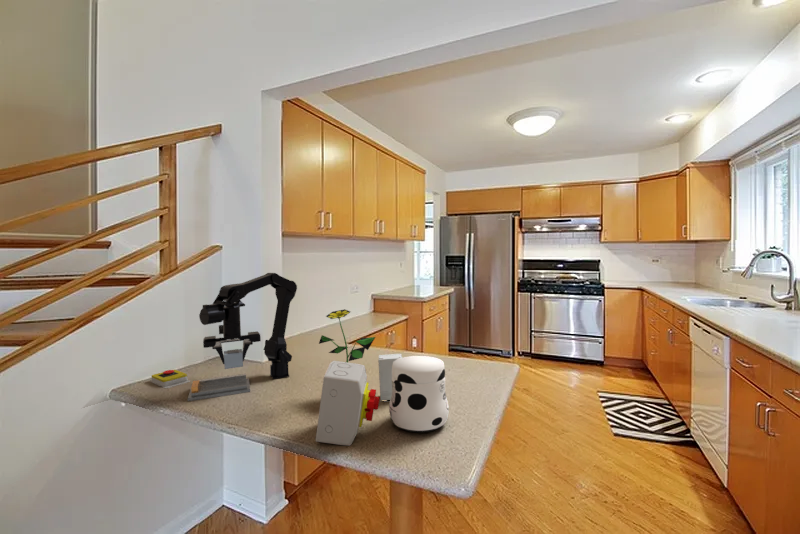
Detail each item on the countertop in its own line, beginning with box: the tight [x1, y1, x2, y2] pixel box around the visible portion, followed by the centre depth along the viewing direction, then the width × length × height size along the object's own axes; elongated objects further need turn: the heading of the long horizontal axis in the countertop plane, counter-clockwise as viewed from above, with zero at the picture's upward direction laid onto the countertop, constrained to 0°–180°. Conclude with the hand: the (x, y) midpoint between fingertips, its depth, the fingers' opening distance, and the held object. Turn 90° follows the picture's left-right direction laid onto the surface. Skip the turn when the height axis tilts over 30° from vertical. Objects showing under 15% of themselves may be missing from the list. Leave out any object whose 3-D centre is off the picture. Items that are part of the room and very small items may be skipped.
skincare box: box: [377, 353, 403, 401], centre depth 130 cm, size 8×6×15 cm
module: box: [223, 348, 244, 370], centre depth 138 cm, size 6×6×5 cm
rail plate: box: [187, 373, 251, 402], centre depth 141 cm, size 20×13×4 cm, turn 114°
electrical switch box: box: [315, 360, 381, 446], centre depth 106 cm, size 15×15×20 cm
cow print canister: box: [388, 355, 450, 433], centre depth 111 cm, size 17×17×18 cm
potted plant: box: [318, 309, 376, 371], centre depth 129 cm, size 18×19×30 cm
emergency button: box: [149, 369, 191, 389], centre depth 152 cm, size 9×4×15 cm
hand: (233, 362), depth 138 cm, fingers closed on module, 6 cm apart
